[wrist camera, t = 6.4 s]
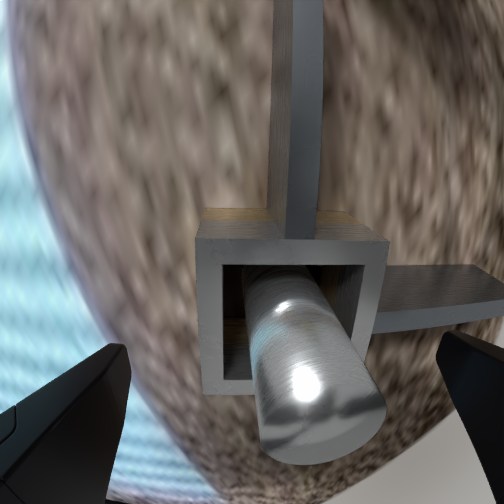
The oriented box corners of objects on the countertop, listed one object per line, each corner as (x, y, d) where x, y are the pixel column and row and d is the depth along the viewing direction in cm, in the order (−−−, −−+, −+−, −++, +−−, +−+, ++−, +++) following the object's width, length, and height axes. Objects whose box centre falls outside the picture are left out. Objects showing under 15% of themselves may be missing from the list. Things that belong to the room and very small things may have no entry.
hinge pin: (301, 302, 14) (367, 455, 6) (240, 303, 13) (257, 469, 6) (307, 244, 13) (402, 375, 5) (241, 243, 12) (263, 390, 5)
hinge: (458, 316, 15) (500, 355, 11) (207, 331, 14) (202, 394, 10) (486, 36, 10) (538, 24, 6) (216, -30, 9) (213, -86, 5)
